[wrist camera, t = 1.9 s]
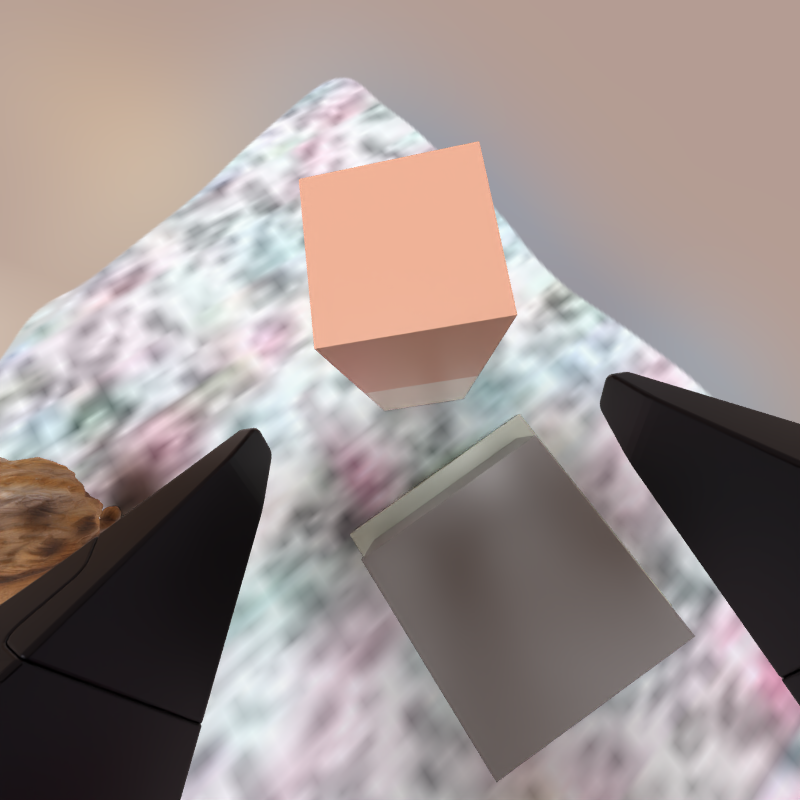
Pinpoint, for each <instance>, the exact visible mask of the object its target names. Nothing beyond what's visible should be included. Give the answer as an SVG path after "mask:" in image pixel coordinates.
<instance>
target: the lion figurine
mask: <svg viewBox="0 0 800 800" xmlns="http://www.w3.org/2000/svg"><path fill="white" fill-rule="evenodd" d="M102 508H103V504H102V503H101V502H100V500H98V499H95V498H93V497H91V496H90V495H89V493H87V492H86V491H85V489H84V486H83V484H82V483H80V482H79V481H78V479H76V478H75V473H74V472H72V471H70V470H69V469H68V468H67V467H66V466H64V465H60V464H58V463H56V462H53V461H50V460H47V459H43V458H40V457H35V458H29V459H23V460H16V461H8V460H7V459H5V458H1V457H0V604H2V603H3V602H5V601H6V600H8V599H9V598H11V597H12V596H14V595H15V594H16V593H18V592H19V591H21V590H22V589H24V588H25V587H26V586H28V585H29V584H31V583H32V582H34V581H35V580H37V579H38V578H39V577H41V576H42V575H44V574H45V573H47V572H48V571H49V570H51V569H52V568H53V567H55V566H56V565H58V564H59V563H60V562H62V561H63V560H65V559H66V558H67V557H69V556H70V555H71V554H73V553H74V552H76V551H77V550H78V549H80V548H81V547H82V546H84V545H85V544H86V543H88V542H89V541H90V540H92V539H93V538H95V537H99V535H100V533H101V532H103V531H104V530H106V529H107V528H108V527H110V526H111V525H112V524H114V523H115V522H116V521H118V520H119V519H120V518H121V511H120V510H119V508H118V507H116V506H113V507H107V508H105V509H104V510H103V511H102ZM99 517H100V519H99Z"/></svg>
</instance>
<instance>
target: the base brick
mask: <svg viewBox="0 0 800 800" xmlns="http://www.w3.org/2000/svg"><path fill="white" fill-rule="evenodd" d="M350 536H351V537H352V539H353V541H354V542H355V544H356V546H357V547H358V549H359V551H360V552H361V554H362V555H363V558H362V561H363V563H364V565H365V566H366V568H367V570H368V571H369V573H370V575H371V576H372V578H373V579H374V581H375V583H376V584H377V586H378V588H379V589H380V591H381V593H382V594H383V596H384V598H385V599H386V601H387V603H388V604H389V606H390V608H391V609H392V611H393V612H394V614H395V616H396V617H397V619H398V621H399V622H400V624H401V626H402V627H403V629H404V631H405V632H406V634H407V636H408V637H409V639H410V640H411V642H412V644H413V645H414V647H415V649H416V650H417V652H418V654H419V655H420V657H421V659H422V660H423V662H424V664H425V665H426V667H427V669H428V670H429V672H430V673H431V675H432V677H433V678H434V680H435V682H436V683H437V685H438V687H439V688H440V690H441V692H442V693H443V695H444V697H445V698H446V700H447V702H448V703H449V705H450V706H451V708H452V710H453V711H454V713H455V715H456V716H457V718H458V720H459V721H460V723H461V725H462V726H463V728H464V730H465V731H466V733H467V735H468V736H469V738H470V739H471V741H472V743H473V744H474V746H475V748H476V749H477V751H478V753H479V754H480V756H481V758H482V759H483V761H484V763H485V764H486V766H487V767H488V769H489V771H490V772H491V774H492V776H493V777H494V779H495V781H496V782H498V781H499V780H500V779H502V778H503V777H504V776H506V775H507V774H509V773H510V772H511V771H513V770H514V769H515V768H517V767H518V766H519V765H521V764H522V763H523V762H525V761H526V760H528V759H529V758H530V757H532V756H533V755H534V754H536V753H537V752H538V751H540V750H541V749H543V748H544V747H545V746H547V745H548V744H549V743H551V742H552V741H553V740H555V739H556V738H557V737H559V736H560V735H562V734H563V733H564V732H566V731H567V730H568V729H570V728H571V727H572V726H574V725H575V724H577V723H578V722H579V721H581V720H582V719H583V718H585V717H586V716H587V715H589V714H590V713H591V712H593V711H594V710H596V709H597V708H598V707H600V706H601V705H602V704H604V703H605V702H606V701H608V700H609V699H611V698H612V697H613V696H615V695H616V694H617V693H619V692H620V691H621V690H623V689H624V688H625V687H627V686H628V685H630V684H631V683H632V682H634V681H635V680H636V679H638V678H639V677H640V676H642V675H643V674H645V673H646V672H647V671H649V670H650V669H651V668H653V667H654V666H655V665H657V664H658V663H659V662H661V661H662V660H664V659H665V658H666V657H668V656H669V655H670V654H672V653H673V652H674V651H676V650H677V649H679V648H680V647H681V646H683V645H684V644H685V643H687V642H688V641H689V640H691V639H692V638H693V637H695V636H694V634H693V633H692V632H691V631H690V629H689V628H688V627H687V626H686V624H685V623H684V622H683V621H682V619H681V618H680V617H679V616H678V614H677V613H676V612H675V610H674V609H673V608H672V605H671V604H670V603H669V601H668V600H667V599H666V598H665V596H664V595H663V594H662V593H661V591H660V590H659V589H658V588H657V586H656V585H655V584H654V582H653V581H652V580H651V579H650V577H649V576H648V575H647V574H646V572H645V571H644V570H643V569H642V567H641V566H640V565H639V564H638V562H637V561H636V560H635V559H634V557H633V556H632V555H631V554H630V552H629V551H628V550H627V548H626V547H625V546H624V545H623V543H622V542H621V541H620V540H619V538H618V537H617V536H616V535H615V533H614V532H613V531H612V530H611V528H610V527H609V526H608V525H607V523H606V522H605V521H604V520H603V518H602V517H601V516H600V515H599V513H598V512H597V511H596V509H595V508H594V507H593V506H592V504H591V503H590V502H589V501H588V499H587V498H586V497H585V496H584V494H583V493H582V492H581V491H580V489H579V488H578V487H577V486H576V484H575V483H574V482H573V481H572V479H571V478H570V477H569V475H568V474H567V473H566V472H565V470H564V469H563V468H562V467H561V465H560V464H559V463H558V462H557V460H556V459H555V458H554V457H553V455H552V454H551V453H550V452H549V450H548V449H547V448H546V447H545V445H544V444H543V443H542V442H541V440H540V439H539V438H538V436H537V435H536V434H535V433H534V431H533V430H532V429H531V428H530V426H529V425H528V424H527V423H526V421H525V420H524V419H523V418H522V416H521V415H520V414H518V415H516V416H514V417H513V418H512V419H510V420H509V421H507V422H506V423H505V424H503V425H502V426H500V427H499V428H498V429H496V430H495V431H493V432H492V433H491V434H489V435H488V436H486V437H485V438H484V439H482V440H481V441H479V442H478V443H477V444H475V445H474V446H472V447H471V448H470V449H468V450H467V451H465V452H464V453H463V454H461V455H460V456H458V457H457V458H456V459H454V460H453V461H451V462H450V463H449V464H447V465H446V466H444V467H443V468H441V469H440V470H439V471H437V472H436V473H434V474H433V475H432V476H430V477H429V478H427V479H426V480H425V481H423V482H422V483H420V484H419V485H418V486H416V487H415V488H413V489H412V490H411V491H409V492H408V493H406V494H405V495H404V496H402V497H401V498H399V499H398V500H397V501H395V502H394V503H392V504H391V505H390V506H388V507H387V508H385V509H384V510H383V511H381V512H380V513H378V514H377V515H376V516H374V517H373V518H371V519H370V520H369V521H367V522H366V523H364V524H363V525H361V526H360V527H359V528H357V529H356V530H354V531H353V532H352V533H351V534H350Z"/></svg>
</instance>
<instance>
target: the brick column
mask: <svg viewBox="0 0 800 800" xmlns="http://www.w3.org/2000/svg"><path fill="white" fill-rule="evenodd" d="M299 186H300V197H301V208H302V219H303V230H304V240H305V251H306V262H307V273H308V284H309V295H310V306H311V316H312V327H313V338H314V349H315V350H316V351H317V352H319V353H320V354H321V355H322V356H323V357H324V358H325V359H327V360H328V361H329V362H330V363H331V364H332V365H333V366H334V367H336V368H337V369H338V370H339V371H340V372H341V373H342V374H343V375H345V376H346V377H347V378H348V379H349V380H350V381H351V382H353V383H354V384H355V385H356V386H357V387H358V388H359V389H360V390H362V391H363V392H364V393H365V394H366V395H367V396H368V397H369V398H371V399H372V400H373V401H374V402H375V403H376V404H377V405H379V406H380V407H381V408H382V409H383V410H384V411H387V410H394V409H400V408H407V407H414V406H420V405H427V404H434V403H440V402H447V401H453V400H460V399H464V398H465V396H466V394H467V393H468V391H469V390H470V388H471V387H472V385H473V383H474V382H475V380H476V379H477V377H478V376H479V374H480V372H481V371H482V369H483V368H484V366H485V365H486V363H487V361H488V360H489V358H490V357H491V355H492V354H493V352H494V350H495V349H496V347H497V346H498V344H499V343H500V341H501V339H502V338H503V336H504V335H505V333H506V332H507V330H508V328H509V327H510V325H511V324H512V322H513V321H514V319H515V317H516V316H517V311H516V307H515V302H514V298H513V293H512V289H511V284H510V279H509V275H508V270H507V266H506V261H505V257H504V252H503V248H502V243H501V238H500V234H499V229H498V225H497V220H496V216H495V211H494V207H493V202H492V198H491V193H490V189H489V184H488V179H487V175H486V170H485V166H484V161H483V157H482V152H481V148H480V143H479V141H478V142H473V143H468V144H464V145H459V146H454V147H449V148H445V149H440V150H435V151H430V152H426V153H421V154H416V155H411V156H407V157H402V158H397V159H392V160H388V161H383V162H378V163H373V164H368V165H364V166H359V167H354V168H349V169H345V170H340V171H335V172H330V173H326V174H321V175H316V176H311V177H307V178H302V179H299Z"/></svg>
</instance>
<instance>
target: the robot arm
mask: <svg viewBox="0 0 800 800" xmlns="http://www.w3.org/2000/svg"><path fill="white" fill-rule="evenodd" d="M600 408H601V411H602V413H603V415H604V417H605V418H606V420H607V422H608V424H609V426H610V428H611V429H612V431H613V433H614V435H615V437H616V439H617V440H618V442H619V444H620V446H621V448H622V450H623V451H624V453H625V455H626V457H627V458H628V460H629V462H630V463H631V465H632V466H633V468H634V469H635V471H636V472H637V474H638V475H639V476H640V478H641V479H642V481H643V482H644V484H645V485H646V486H647V488H648V489H649V491H650V492H651V494H652V495H653V496H654V498H655V499H656V501H657V502H658V504H659V505H660V506H661V508H662V509H663V511H664V512H665V514H666V515H667V516H668V518H669V519H670V521H671V522H672V524H673V525H674V526H675V528H676V529H677V531H678V532H679V534H680V535H681V536H682V538H683V539H684V541H685V542H686V544H687V545H688V546H689V548H690V549H691V551H692V552H693V553H694V555H695V556H696V558H697V559H698V561H699V562H700V563H701V565H702V566H703V568H704V569H705V571H706V572H707V573H708V575H709V576H710V578H711V579H712V581H713V582H714V583H715V585H716V586H717V588H718V589H719V591H720V592H721V593H722V595H723V596H724V598H725V599H726V601H727V602H728V603H729V605H730V606H731V608H732V609H733V611H734V612H735V613H736V615H737V616H738V618H739V619H740V621H741V622H742V623H743V625H744V626H745V628H746V629H747V631H748V632H749V633H750V635H751V636H752V638H753V639H754V641H755V642H756V643H757V645H758V646H759V648H760V649H761V651H762V652H763V653H764V655H765V656H766V658H767V659H768V661H769V662H770V663H771V665H772V666H773V668H774V669H775V671H776V672H777V673H778V675H779V676H780V677H782V678H783V679H782V681H783V682H784V684H785V685H786V687H787V688H788V690H789V691H790V692H791V694H792V695H793V697H794V698H795V700H796V701H797V702H798V704H799V705H800V424H799V423H795V422H792V421H789V420H785V419H782V418H779V417H776V416H772V415H769V414H766V413H762V412H759V411H756V410H752V409H749V408H746V407H743V406H739V405H736V404H733V403H729V402H726V401H723V400H719V399H716V398H713V397H710V396H706V395H703V394H700V393H696V392H693V391H690V390H686V389H683V388H680V387H676V386H673V385H670V384H667V383H663V382H660V381H657V380H653V379H650V378H647V377H643V376H640V375H637V374H634V373H630V372H622V373H615V374H611V375H609V376H608V377H607V378H606V381H605V384H604V388H603V392H602V396H601V399H600ZM270 464H271V450H270V448H269V446H268V444H267V443H266V441H265V439H264V437H263V436H262V434H261V432H260V431H259V430H258V429H257V428H249V429H243V430H240V431H238V432H237V433H236V434H234V435H233V436H231V437H230V438H229V439H227V440H226V441H225V442H223V443H222V444H221V445H219V446H218V447H217V448H215V449H214V450H213V451H211V452H210V453H208V454H207V455H206V456H204V457H203V458H202V459H200V460H199V461H198V462H196V463H195V464H194V465H192V466H191V467H190V468H188V469H187V470H185V471H184V472H183V473H181V474H180V475H179V476H177V477H176V478H175V479H173V480H172V481H171V482H169V483H168V484H166V485H165V486H164V487H162V488H161V489H160V490H158V491H157V492H156V493H154V494H153V495H152V496H150V497H149V498H148V499H146V500H145V501H143V502H142V503H141V504H139V505H138V506H137V507H135V508H134V509H133V510H131V511H130V512H129V513H127V514H126V515H124V516H123V517H122V518H120V519H119V520H118V521H116V522H115V523H114V524H112V525H111V526H110V527H108V528H107V529H106V530H104V531H103V532H101V533H100V535H99V537H95V538H93V539H92V540H90V541H89V542H88V543H86V544H85V545H84V546H82V547H81V548H80V549H78V550H77V551H76V552H74V553H73V554H71V555H70V556H69V557H67V558H66V559H65V560H63V561H62V562H60V563H59V564H58V565H56V566H55V567H53V568H52V569H51V570H49V571H48V572H47V573H45V574H44V575H42V576H41V577H39V578H38V579H37V580H35V581H34V582H32V583H31V584H29V585H28V586H26V587H25V588H24V589H22V590H21V591H19V592H18V593H16V594H15V595H14V596H12V597H11V598H9V599H8V600H6V601H5V602H3V603H2V604H0V800H180V799H181V796H182V792H183V789H184V785H185V782H186V778H187V775H188V771H189V768H190V764H191V761H192V757H193V754H194V750H195V747H196V743H197V740H198V736H199V733H200V729H201V723H202V721H203V718H204V714H205V711H206V707H207V704H208V700H209V696H210V693H211V689H212V686H213V682H214V679H215V675H216V672H217V668H218V665H219V661H220V658H221V654H222V651H223V647H224V644H225V640H226V637H227V633H228V630H229V626H230V623H231V619H232V616H233V612H234V609H235V605H236V602H237V598H238V594H239V591H240V587H241V584H242V580H243V577H244V573H245V570H246V566H247V563H248V559H249V556H250V552H251V549H252V545H253V542H254V538H255V535H256V531H257V528H258V524H259V521H260V517H261V513H262V509H263V504H264V499H265V493H266V487H267V481H268V475H269V470H270Z"/></svg>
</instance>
